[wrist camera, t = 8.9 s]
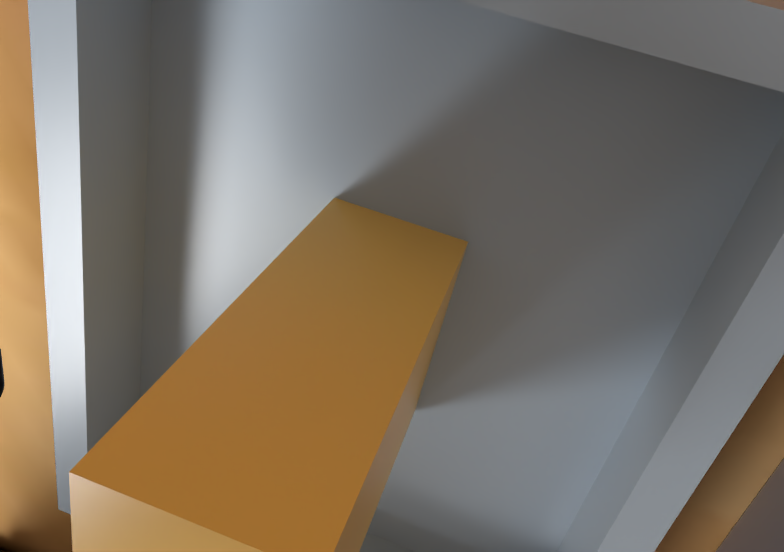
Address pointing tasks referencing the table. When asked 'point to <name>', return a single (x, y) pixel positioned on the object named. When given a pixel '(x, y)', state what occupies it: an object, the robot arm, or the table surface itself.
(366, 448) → the block
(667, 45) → the tray
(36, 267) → the table surface
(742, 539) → the fuse holder
